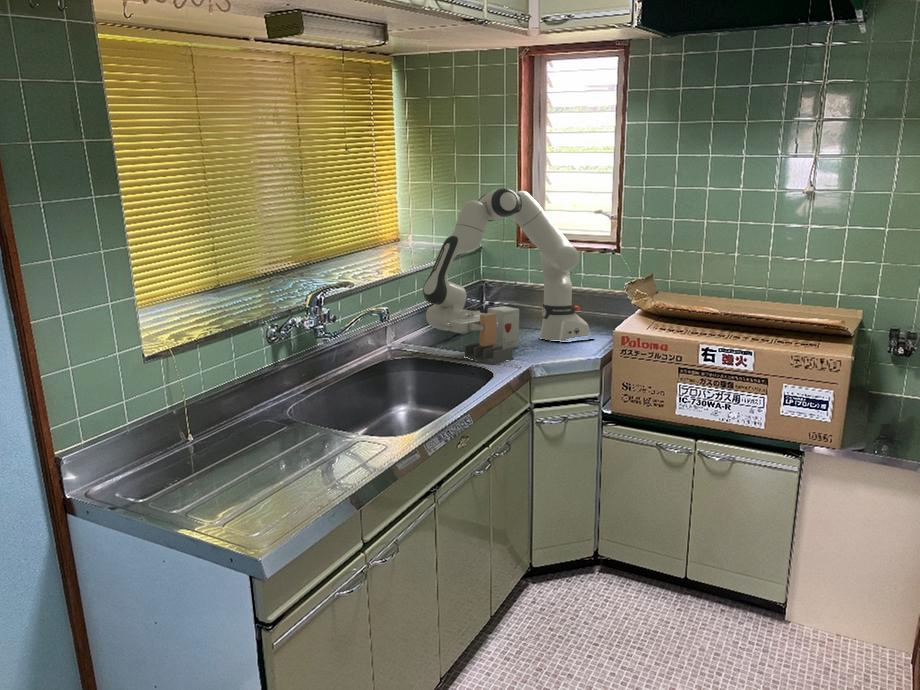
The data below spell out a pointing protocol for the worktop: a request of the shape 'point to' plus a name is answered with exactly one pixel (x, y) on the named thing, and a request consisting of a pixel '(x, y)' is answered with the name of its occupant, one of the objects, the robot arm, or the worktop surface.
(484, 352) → the dish rack
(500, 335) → the supplement box
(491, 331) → the tile
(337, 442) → the worktop surface
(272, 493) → the worktop surface
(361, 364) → the worktop surface
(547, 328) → the robot arm
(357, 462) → the worktop surface
